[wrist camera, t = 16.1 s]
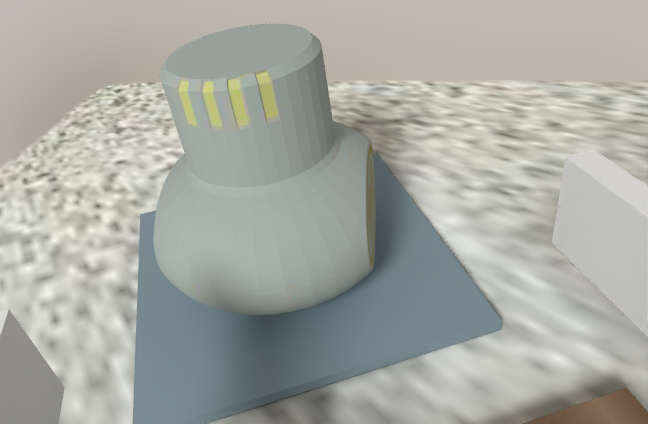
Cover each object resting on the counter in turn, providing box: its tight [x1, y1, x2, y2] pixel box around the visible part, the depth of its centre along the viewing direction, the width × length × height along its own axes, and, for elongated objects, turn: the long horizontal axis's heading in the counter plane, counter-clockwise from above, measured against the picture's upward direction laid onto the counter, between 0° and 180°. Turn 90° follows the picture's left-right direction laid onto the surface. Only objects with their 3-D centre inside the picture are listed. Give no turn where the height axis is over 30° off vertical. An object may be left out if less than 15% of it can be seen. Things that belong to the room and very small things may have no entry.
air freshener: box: [154, 24, 376, 315], centre depth 22 cm, size 11×8×10 cm
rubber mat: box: [133, 153, 502, 424], centre depth 25 cm, size 14×14×1 cm
